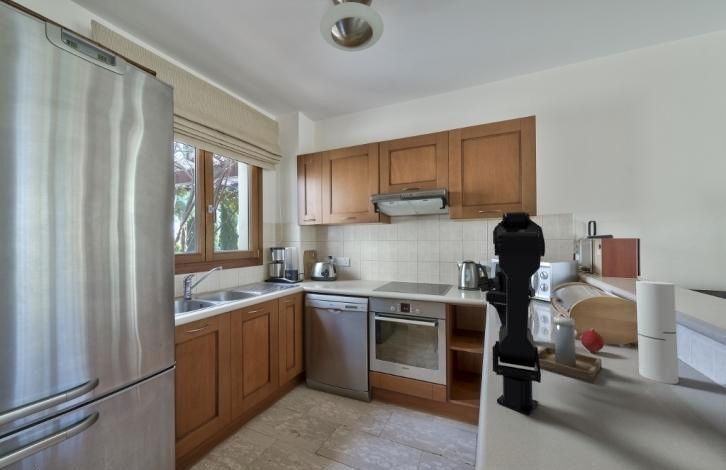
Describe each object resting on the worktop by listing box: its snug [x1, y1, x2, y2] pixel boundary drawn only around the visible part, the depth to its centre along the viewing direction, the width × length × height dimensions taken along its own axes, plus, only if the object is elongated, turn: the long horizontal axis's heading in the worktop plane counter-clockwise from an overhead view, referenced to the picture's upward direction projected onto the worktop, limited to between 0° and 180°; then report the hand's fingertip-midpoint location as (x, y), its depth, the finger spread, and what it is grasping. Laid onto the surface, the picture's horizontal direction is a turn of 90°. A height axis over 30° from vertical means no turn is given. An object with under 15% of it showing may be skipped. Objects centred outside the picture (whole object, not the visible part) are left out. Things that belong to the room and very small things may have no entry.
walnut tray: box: [538, 345, 602, 385], centre depth 80 cm, size 14×14×2 cm
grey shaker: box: [553, 315, 576, 368], centre depth 80 cm, size 5×5×13 cm
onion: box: [580, 327, 605, 354], centre depth 91 cm, size 6×6×8 cm
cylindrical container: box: [635, 280, 679, 385], centre depth 75 cm, size 7×7×25 cm
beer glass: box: [528, 300, 535, 335], centre depth 102 cm, size 7×7×15 cm
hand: (512, 325), depth 75 cm, fingers open, 9 cm apart
